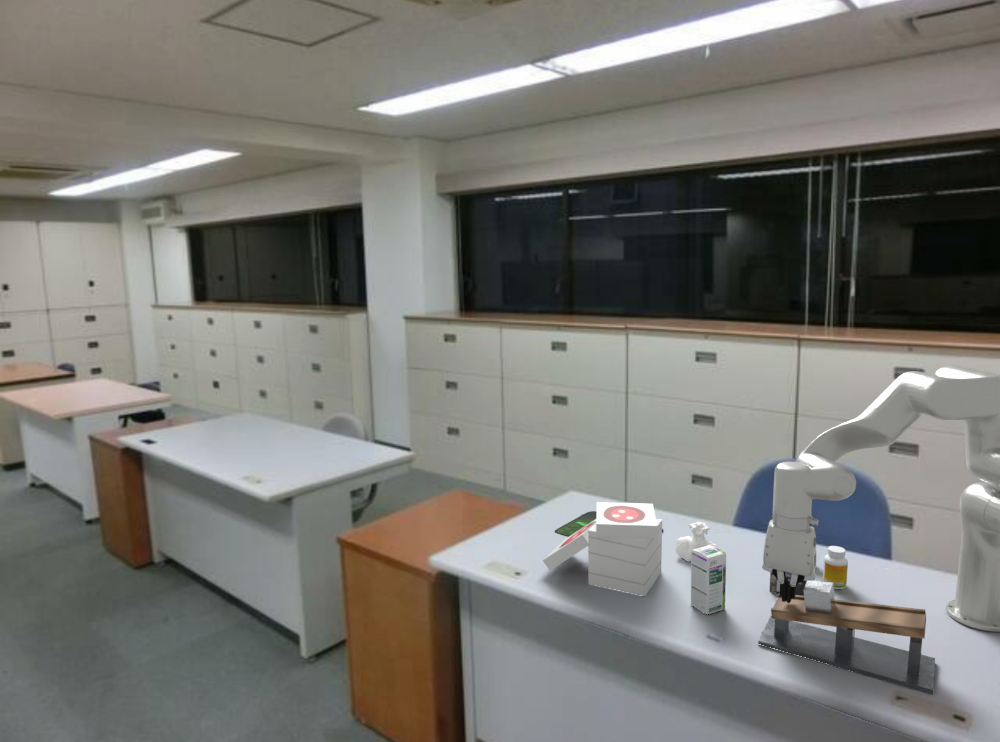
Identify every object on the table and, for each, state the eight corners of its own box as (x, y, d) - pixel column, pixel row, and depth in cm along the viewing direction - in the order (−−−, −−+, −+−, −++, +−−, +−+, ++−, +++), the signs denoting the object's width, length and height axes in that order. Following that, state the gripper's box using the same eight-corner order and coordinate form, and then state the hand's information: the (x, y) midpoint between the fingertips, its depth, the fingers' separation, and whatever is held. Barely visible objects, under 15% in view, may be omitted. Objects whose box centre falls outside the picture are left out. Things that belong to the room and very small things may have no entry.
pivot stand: (934, 662, 139) (937, 627, 138) (932, 694, 130) (936, 657, 128) (770, 619, 157) (772, 588, 156) (758, 644, 147) (759, 611, 146)
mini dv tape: (769, 591, 170) (770, 569, 169) (771, 589, 171) (772, 566, 170) (804, 601, 165) (805, 578, 164) (806, 598, 166) (807, 575, 165)
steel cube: (835, 605, 145) (833, 582, 145) (831, 615, 141) (829, 592, 140) (810, 602, 148) (807, 580, 147) (805, 612, 144) (803, 589, 143)
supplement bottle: (849, 591, 169) (851, 554, 167) (825, 589, 170) (828, 553, 168) (842, 580, 174) (845, 545, 172) (820, 579, 175) (822, 543, 173)
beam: (926, 620, 138) (925, 608, 137) (924, 642, 130) (923, 630, 130) (780, 603, 154) (779, 592, 153) (771, 621, 146) (770, 610, 146)
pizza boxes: (567, 549, 196) (567, 489, 193) (671, 570, 182) (672, 506, 178) (538, 577, 180) (537, 513, 176) (650, 603, 165) (651, 533, 162)
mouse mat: (551, 533, 208) (551, 529, 208) (589, 511, 225) (589, 508, 225) (630, 557, 191) (630, 553, 191) (665, 531, 208) (665, 528, 207)
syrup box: (707, 616, 159) (709, 558, 156) (689, 604, 164) (691, 548, 162) (725, 609, 162) (727, 552, 159) (707, 598, 167) (709, 543, 164)
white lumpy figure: (719, 571, 185) (726, 531, 189) (713, 564, 179) (721, 523, 184) (675, 561, 192) (684, 523, 196) (669, 554, 186) (678, 515, 190)
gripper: (832, 521, 144) (827, 601, 147) (759, 507, 152) (755, 584, 155) (826, 533, 138) (821, 617, 141) (750, 519, 146) (747, 598, 149)
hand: (787, 599), depth 148 cm, fingers closed
